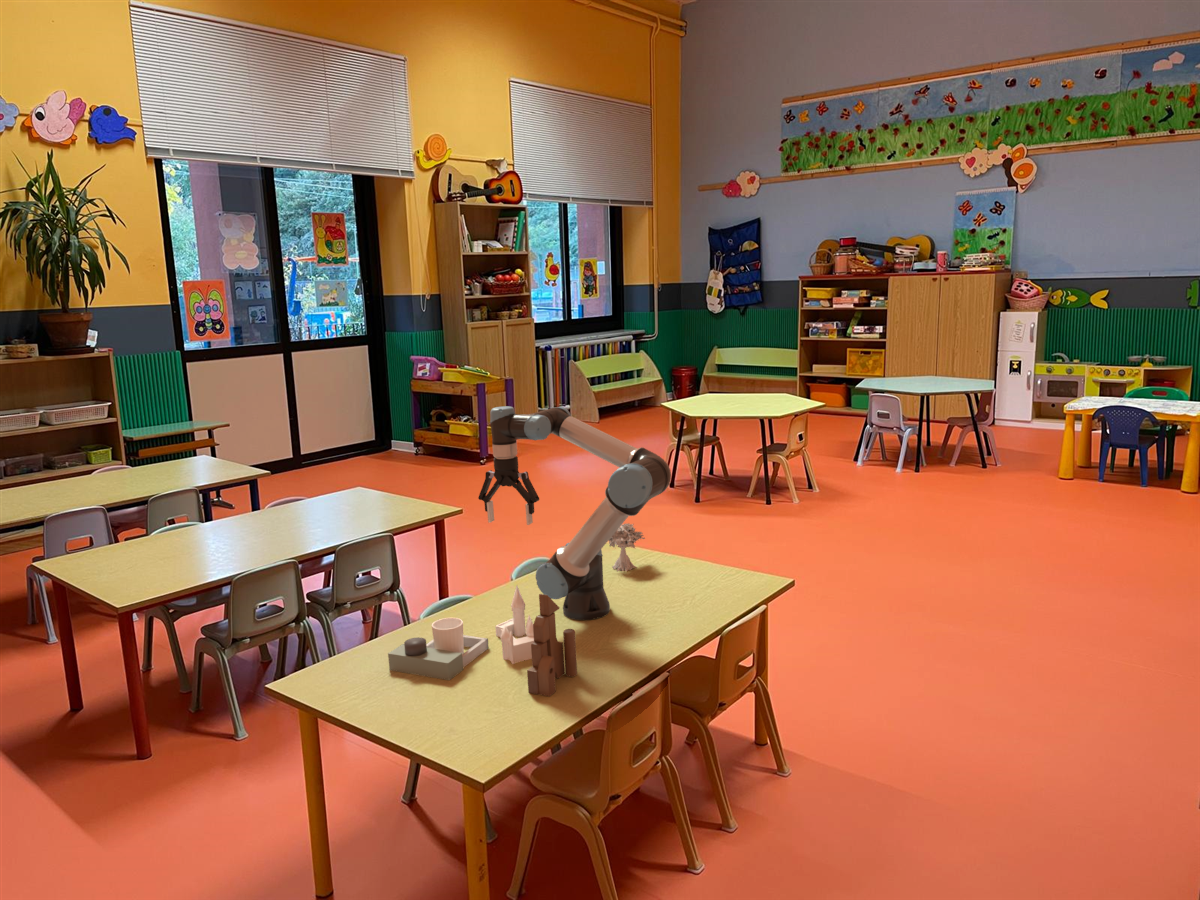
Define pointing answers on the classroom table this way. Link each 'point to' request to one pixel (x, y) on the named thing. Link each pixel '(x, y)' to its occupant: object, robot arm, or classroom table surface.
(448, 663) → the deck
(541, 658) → the wooden toy
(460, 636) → the mug
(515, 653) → the toy castle
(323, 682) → the classroom table surface
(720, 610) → the classroom table surface
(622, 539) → the tree
